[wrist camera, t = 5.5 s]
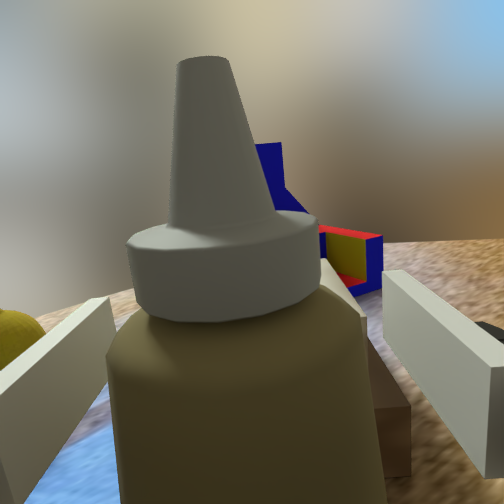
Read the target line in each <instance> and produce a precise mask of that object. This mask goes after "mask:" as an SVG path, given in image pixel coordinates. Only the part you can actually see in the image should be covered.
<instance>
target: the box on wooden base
mask: <svg viewBox="0 0 504 504" xmlns="http://www.w3.org/2000/svg"><path fill="white" fill-rule="evenodd" d="M320 284H321V285H324V286H326V287H327V288H329V289H330V290H332V291H333V292H334V293H336V294H337V295H339V296H340V297H341V298H343V299H344V300H345V301H346V302H347V303H348V304H349V305H350V306H352V307H353V308H354V309H355V310H356V311H357V312H358V313H359V314H360V318H361V325H362V331H363V338H364V345H365V352H366V359H367V365H368V372H369V379H370V386H371V393H372V400H373V406H374V413H375V420H376V427H377V434H378V440H379V447H380V454H381V461H382V468H383V474H384V478H390V477H404V476H411V405H410V404H409V402H408V400H407V399H406V397H405V396H404V394H403V392H402V391H401V389H400V388H399V386H398V384H397V383H396V381H395V380H394V378H393V376H392V375H391V373H390V372H389V370H388V369H387V367H386V365H385V364H384V362H383V361H382V359H381V357H380V356H379V354H378V353H377V351H376V349H375V348H374V346H373V345H372V343H371V341H370V340H369V338H368V337H367V316H366V315H365V313H364V312H363V310H362V309H361V308H360V306H359V305H358V303H357V302H356V300H355V299H354V298H353V296H352V295H351V293H350V292H349V291H348V289H347V288H346V286H345V285H344V283H343V282H342V281H341V279H340V278H339V276H338V275H337V274H336V272H335V271H334V269H333V268H332V266H331V265H330V264H329V262H328V261H327V259H326V258H322V259H321V280H320Z"/></svg>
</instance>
